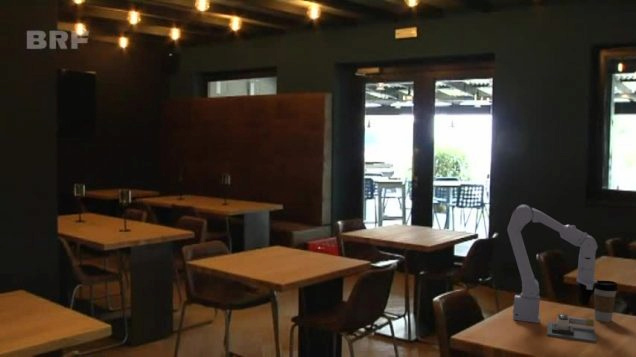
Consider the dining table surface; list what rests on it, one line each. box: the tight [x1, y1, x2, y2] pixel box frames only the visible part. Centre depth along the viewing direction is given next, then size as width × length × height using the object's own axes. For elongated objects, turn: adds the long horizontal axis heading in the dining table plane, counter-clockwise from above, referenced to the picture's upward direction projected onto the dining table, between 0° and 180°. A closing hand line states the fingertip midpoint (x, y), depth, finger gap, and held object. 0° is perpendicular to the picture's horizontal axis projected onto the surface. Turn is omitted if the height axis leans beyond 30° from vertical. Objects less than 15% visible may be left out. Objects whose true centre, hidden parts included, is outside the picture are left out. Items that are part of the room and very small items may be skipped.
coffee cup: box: [593, 280, 618, 323], centre depth 238 cm, size 8×8×15 cm
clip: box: [557, 313, 595, 328], centre depth 225 cm, size 12×3×2 cm, turn 69°
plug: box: [555, 315, 570, 331], centre depth 220 cm, size 5×5×5 cm
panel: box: [546, 320, 598, 344], centre depth 221 cm, size 16×16×2 cm
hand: (583, 304), depth 229 cm, fingers open, 2 cm apart
